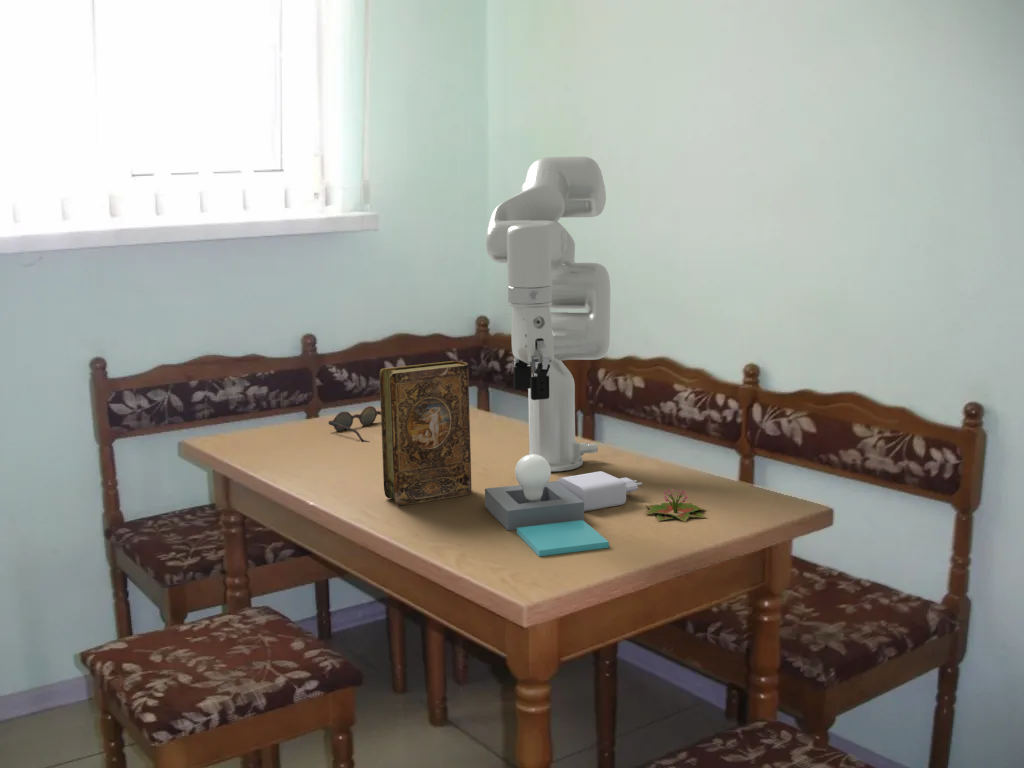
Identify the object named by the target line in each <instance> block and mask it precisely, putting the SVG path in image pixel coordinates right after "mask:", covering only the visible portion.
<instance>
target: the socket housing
mask: <svg viewBox="0 0 1024 768" xmlns="http://www.w3.org/2000/svg"><path fill="white" fill-rule="evenodd" d="M484 501H485V502H484V503H485V504H484V506H485V507H484V508H486V509H487V510H488V512H489V513H491V515H492V516H493V517H494V518H495V519H496V520H497V521H498V522H499V523H500V524H501V525H502V526H503V527H504V528H505V530H506V531H513V530H517V528H519V527H527V526H535V525H544V524H552V523H561V522H569V521H578V520H583V521H585V512H584V502H583V501H582V500H581V499H579V498H578V497H577V496H576V495H574V494H573V493H572V492H571V491H569V490H568V489H567V488H566V487H564V486H563V485H562V484H561V483H559V482H558V480H553V481H551V480H550V481H548V483H547V484H546V486H545V487H544V489H543V494H542V497H541V502H532V503H526V498H525V496H524V492H523V489H522V487H521V486H520V484H515V485H508V486H507V485H506V486H497V487H489V488H484Z"/></svg>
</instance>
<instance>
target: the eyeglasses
mask: <svg viewBox="0 0 1024 768" xmlns="http://www.w3.org/2000/svg"><path fill="white" fill-rule="evenodd" d="M378 415H379V416H381V410H377V408H375V407H374V406H372V405H371V406H370V405H368V406H366V407H364V408H363V409H362V411H361V413H360V414H357V413H356V414H354V415H351V413H350V412H349V411H341V412H338V414H336V416H335V417H334V418H333V419H332V420H329V421H328V422H327V423H328V425H330V426H333V428H334V429H335V431H336V432H339V431H344V429H346V430H347V431H350V432H353V433H355V434H356V435H357V437H358V439H359V440H360V441H361V442H363V443H371V441H369V440H367V439H366V440H365V439H364V438H363V437H362V436H361V434H360V433H359V431H358V430H356V429H354V428H351V427H352V425H353V423H354V420H355V418H357V419H358V420H359V423H360V424H361V425H362V426H363V425H364V426H367V425H366V424H368V425H371V424H370V423H372V424H374V423H375V420H376V419H377V416H378Z"/></svg>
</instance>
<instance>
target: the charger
mask: <svg viewBox="0 0 1024 768" xmlns="http://www.w3.org/2000/svg"><path fill="white" fill-rule="evenodd" d="M557 481H558V482H559V483H561V484H562V485H563V486H564V487H566V488H567V489H568V490H569V491H571V492H572V493H573V494H574V495H576V496H577V497H578V498H579V499H581V500H582V501H583V502H584V513H585V512H591V511H595V510H600V509H606V508H611V507H616V506H622V505H625V503H626V501H627V494H629V493H635V492H636V491H638V490H639V487H638V486H640V485H643V482H638V481H637V479H634V480H633V479H632V478H628V477H626V476H625V477H621V478H618V477H616V476H614V475H611V474H609V473H607V472H605V471H593V472H589V473H583V474H577V475H569V476H565V477H559V478H558V479H557Z"/></svg>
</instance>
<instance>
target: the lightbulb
mask: <svg viewBox="0 0 1024 768" xmlns="http://www.w3.org/2000/svg"><path fill="white" fill-rule="evenodd" d="M514 474H515V479H516V481H517V483H518V485H520V486H521V487H522V489H523V492H524V496H525V498H526V503H532V502H541V497H542V494H543V489H544V487H545V486H546V484H547V483H548V482H550V478H551V475H552V472H551V468H550V465H549V463H548V461H547V460H546V459H545V458H544V457H542V456H540V455H537V454H529V455H528V454H526V455H524V456H522V457H521V458H520V459H519V460H518V462H517V463H516V465H515V468H514Z"/></svg>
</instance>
